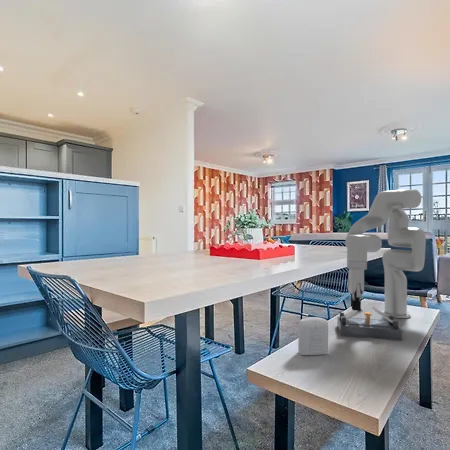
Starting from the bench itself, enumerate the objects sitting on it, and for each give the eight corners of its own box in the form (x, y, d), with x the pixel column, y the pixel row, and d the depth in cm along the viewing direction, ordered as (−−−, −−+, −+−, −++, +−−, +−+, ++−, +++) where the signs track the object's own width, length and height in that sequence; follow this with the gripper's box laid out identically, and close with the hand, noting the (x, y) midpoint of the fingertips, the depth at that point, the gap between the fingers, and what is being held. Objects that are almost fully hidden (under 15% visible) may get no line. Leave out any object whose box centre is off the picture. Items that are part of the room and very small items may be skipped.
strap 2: (392, 322, 127) (393, 320, 127) (395, 326, 122) (397, 324, 122) (372, 308, 129) (374, 306, 129) (374, 311, 124) (376, 309, 124)
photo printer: (324, 350, 110) (324, 315, 110) (330, 355, 106) (330, 318, 106) (296, 351, 109) (296, 316, 108) (301, 356, 104) (301, 320, 104)
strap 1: (343, 322, 127) (341, 319, 127) (341, 318, 132) (339, 316, 132) (363, 312, 125) (361, 309, 125) (361, 308, 130) (359, 306, 130)
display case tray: (337, 325, 135) (337, 307, 135) (393, 330, 130) (393, 310, 130) (340, 335, 124) (340, 315, 124) (401, 340, 118) (402, 319, 118)
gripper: (344, 262, 136) (344, 304, 136) (349, 266, 121) (348, 314, 121) (363, 263, 134) (362, 306, 134) (370, 267, 119) (369, 315, 119)
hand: (356, 309), depth 127 cm, fingers closed
